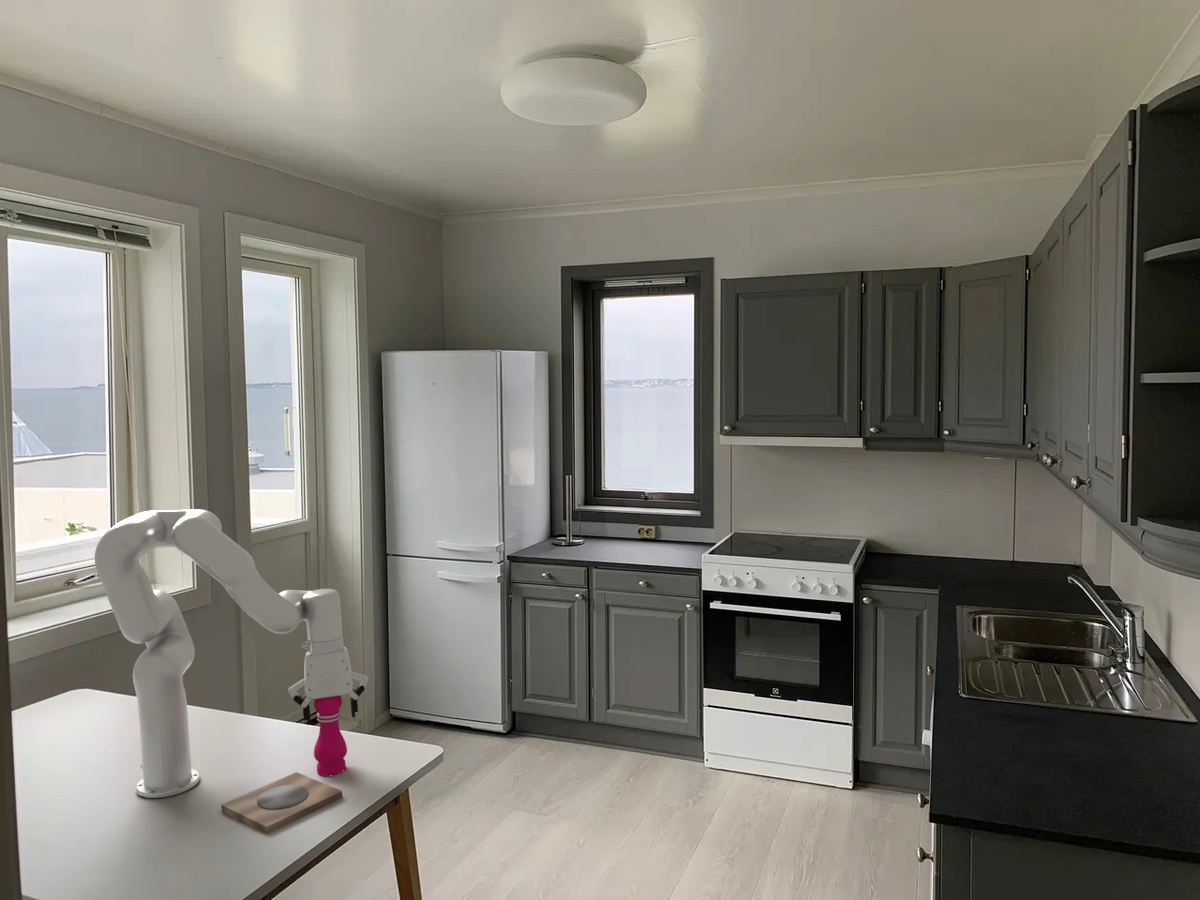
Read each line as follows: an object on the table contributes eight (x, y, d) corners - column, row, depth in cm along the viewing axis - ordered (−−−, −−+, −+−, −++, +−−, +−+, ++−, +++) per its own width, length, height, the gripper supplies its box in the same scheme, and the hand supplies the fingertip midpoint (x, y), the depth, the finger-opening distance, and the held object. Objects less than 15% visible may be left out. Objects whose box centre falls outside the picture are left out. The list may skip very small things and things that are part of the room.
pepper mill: (338, 778, 200) (334, 691, 198) (308, 776, 201) (304, 689, 199) (353, 764, 207) (349, 679, 205) (324, 762, 208) (320, 678, 206)
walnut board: (221, 811, 186) (221, 802, 185) (296, 778, 200) (296, 770, 200) (267, 834, 176) (266, 824, 176) (342, 797, 191) (342, 789, 190)
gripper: (284, 655, 195) (290, 731, 197) (366, 644, 200) (372, 718, 202) (285, 645, 202) (291, 719, 204) (364, 635, 208) (369, 706, 209)
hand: (331, 718), depth 203 cm, fingers open, 9 cm apart
